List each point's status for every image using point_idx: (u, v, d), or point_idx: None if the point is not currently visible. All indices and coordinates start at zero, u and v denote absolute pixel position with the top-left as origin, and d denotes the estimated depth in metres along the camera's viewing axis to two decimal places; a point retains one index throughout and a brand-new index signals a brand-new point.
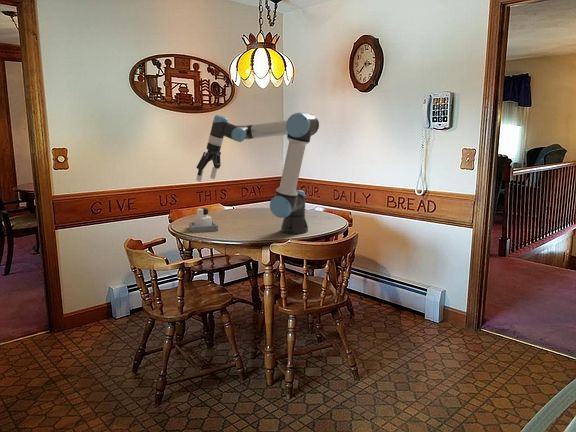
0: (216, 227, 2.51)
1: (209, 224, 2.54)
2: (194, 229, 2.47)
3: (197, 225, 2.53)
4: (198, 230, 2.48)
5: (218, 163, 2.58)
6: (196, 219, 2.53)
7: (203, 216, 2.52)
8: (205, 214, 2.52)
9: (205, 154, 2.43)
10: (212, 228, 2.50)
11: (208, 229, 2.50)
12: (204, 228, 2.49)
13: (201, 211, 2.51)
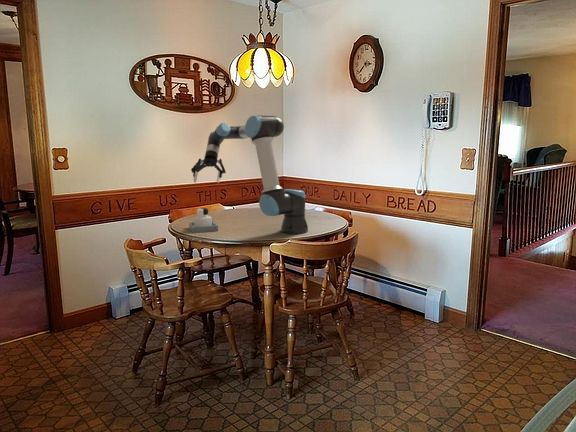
0: (216, 227, 2.51)
1: (209, 224, 2.54)
2: (194, 229, 2.47)
3: (197, 225, 2.53)
4: (198, 230, 2.48)
5: (222, 168, 2.65)
6: (196, 219, 2.53)
7: (203, 216, 2.52)
8: (205, 214, 2.52)
9: None
10: (212, 228, 2.50)
11: (208, 229, 2.50)
12: (204, 228, 2.49)
13: (201, 211, 2.51)
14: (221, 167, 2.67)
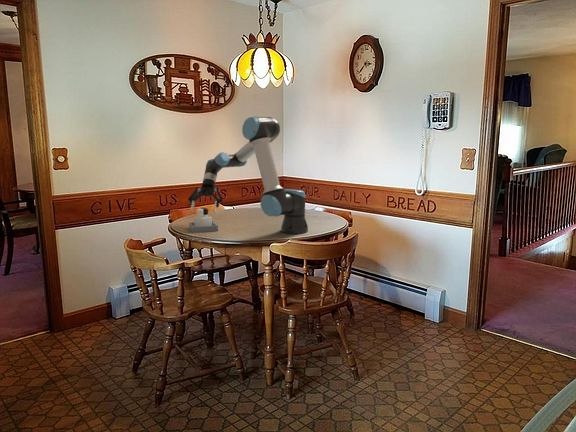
0: (216, 227, 2.51)
1: (209, 224, 2.54)
2: (194, 229, 2.47)
3: (197, 225, 2.53)
4: (198, 230, 2.48)
5: (219, 197, 2.62)
6: (196, 219, 2.53)
7: (203, 216, 2.52)
8: (205, 214, 2.52)
9: None
10: (212, 228, 2.50)
11: (208, 229, 2.50)
12: (204, 228, 2.49)
13: (201, 211, 2.51)
14: None
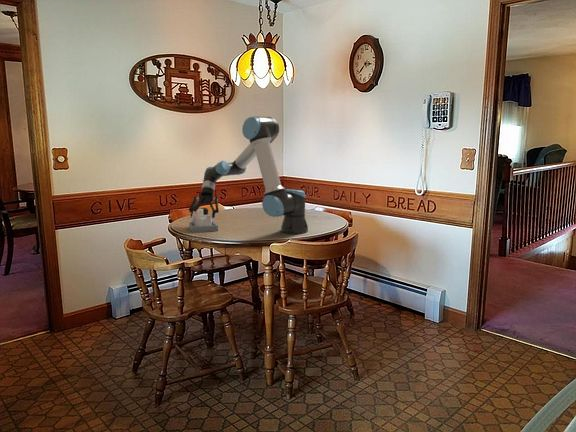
0: (216, 227, 2.51)
1: (209, 224, 2.54)
2: (194, 229, 2.47)
3: (197, 225, 2.53)
4: (198, 230, 2.48)
5: None
6: (196, 219, 2.53)
7: (203, 216, 2.52)
8: (205, 214, 2.52)
9: None
10: (212, 228, 2.50)
11: (208, 229, 2.50)
12: (204, 228, 2.49)
13: (201, 211, 2.51)
14: None
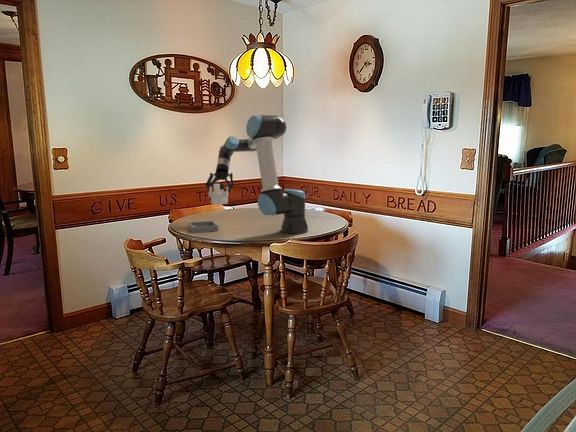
0: (216, 227, 2.51)
1: (225, 198, 2.68)
2: (194, 229, 2.47)
3: (213, 199, 2.66)
4: (198, 230, 2.48)
5: (231, 183, 2.69)
6: (213, 194, 2.66)
7: (219, 191, 2.65)
8: (221, 189, 2.65)
9: (210, 175, 2.74)
10: (212, 228, 2.50)
11: (208, 229, 2.50)
12: (204, 228, 2.49)
13: (218, 186, 2.64)
14: (231, 181, 2.71)
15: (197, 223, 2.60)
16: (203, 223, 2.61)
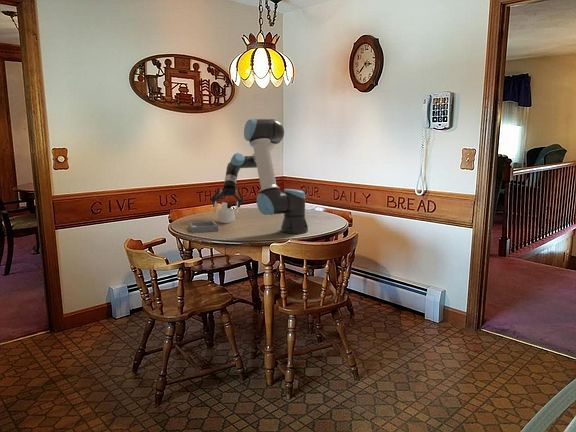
0: (216, 227, 2.51)
1: (232, 217, 2.75)
2: (194, 229, 2.47)
3: (221, 218, 2.74)
4: (198, 230, 2.48)
5: (240, 198, 2.77)
6: (220, 212, 2.73)
7: (227, 209, 2.72)
8: (229, 208, 2.72)
9: None
10: (212, 228, 2.50)
11: (208, 229, 2.50)
12: (204, 228, 2.49)
13: (225, 205, 2.71)
14: None
15: (197, 223, 2.60)
16: (203, 223, 2.61)
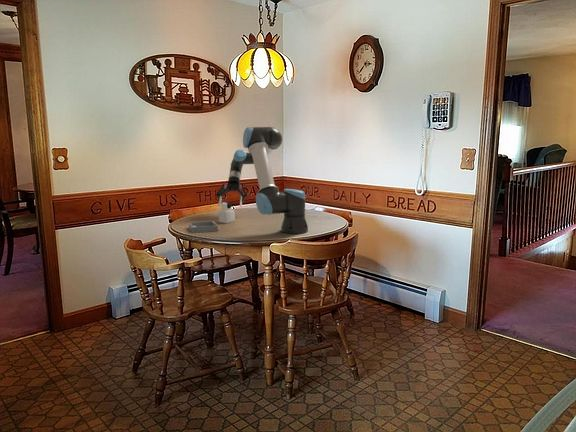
0: (216, 227, 2.51)
1: (232, 217, 2.75)
2: (194, 229, 2.47)
3: (221, 218, 2.74)
4: (198, 230, 2.48)
5: (244, 193, 2.89)
6: (220, 212, 2.73)
7: (227, 209, 2.72)
8: (229, 208, 2.72)
9: None
10: (212, 228, 2.50)
11: (208, 229, 2.50)
12: (204, 228, 2.49)
13: (225, 205, 2.71)
14: None
15: (197, 223, 2.60)
16: (203, 223, 2.61)
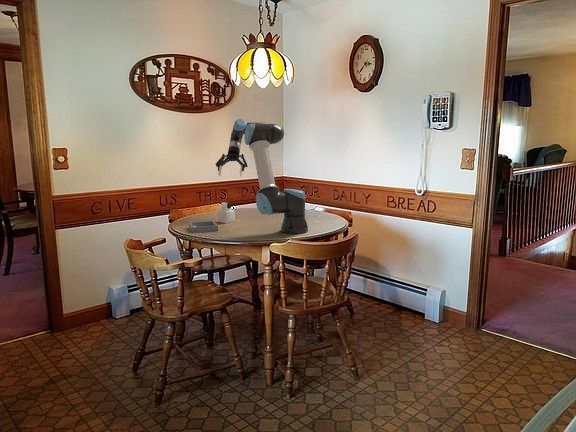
0: (216, 227, 2.51)
1: (232, 217, 2.75)
2: (194, 229, 2.47)
3: (221, 218, 2.74)
4: (198, 230, 2.48)
5: (244, 162, 2.86)
6: (220, 212, 2.73)
7: (227, 209, 2.72)
8: (229, 208, 2.72)
9: None
10: (212, 228, 2.50)
11: (208, 229, 2.50)
12: (204, 228, 2.49)
13: (225, 205, 2.71)
14: (243, 161, 2.87)
15: (197, 223, 2.60)
16: (203, 223, 2.61)
